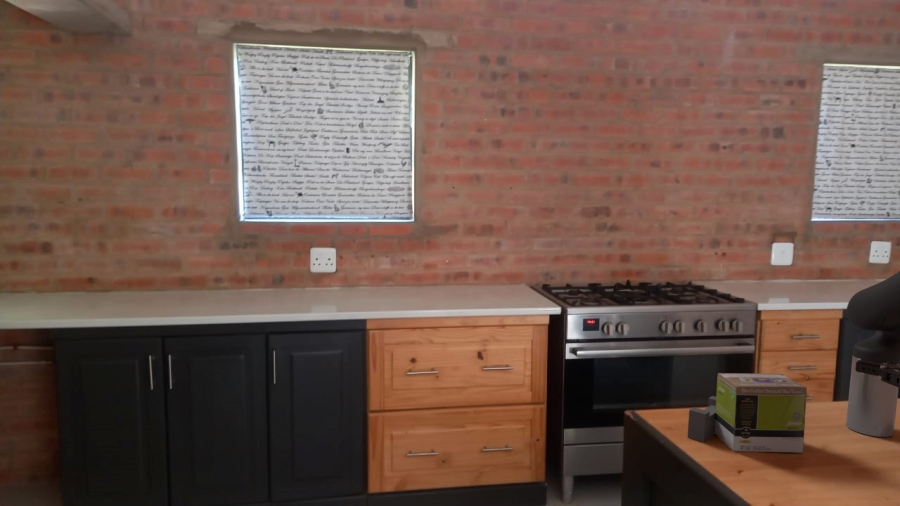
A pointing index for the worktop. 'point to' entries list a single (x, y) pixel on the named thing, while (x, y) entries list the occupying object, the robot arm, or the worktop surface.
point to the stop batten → (702, 421)
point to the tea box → (760, 412)
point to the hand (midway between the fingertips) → (856, 365)
